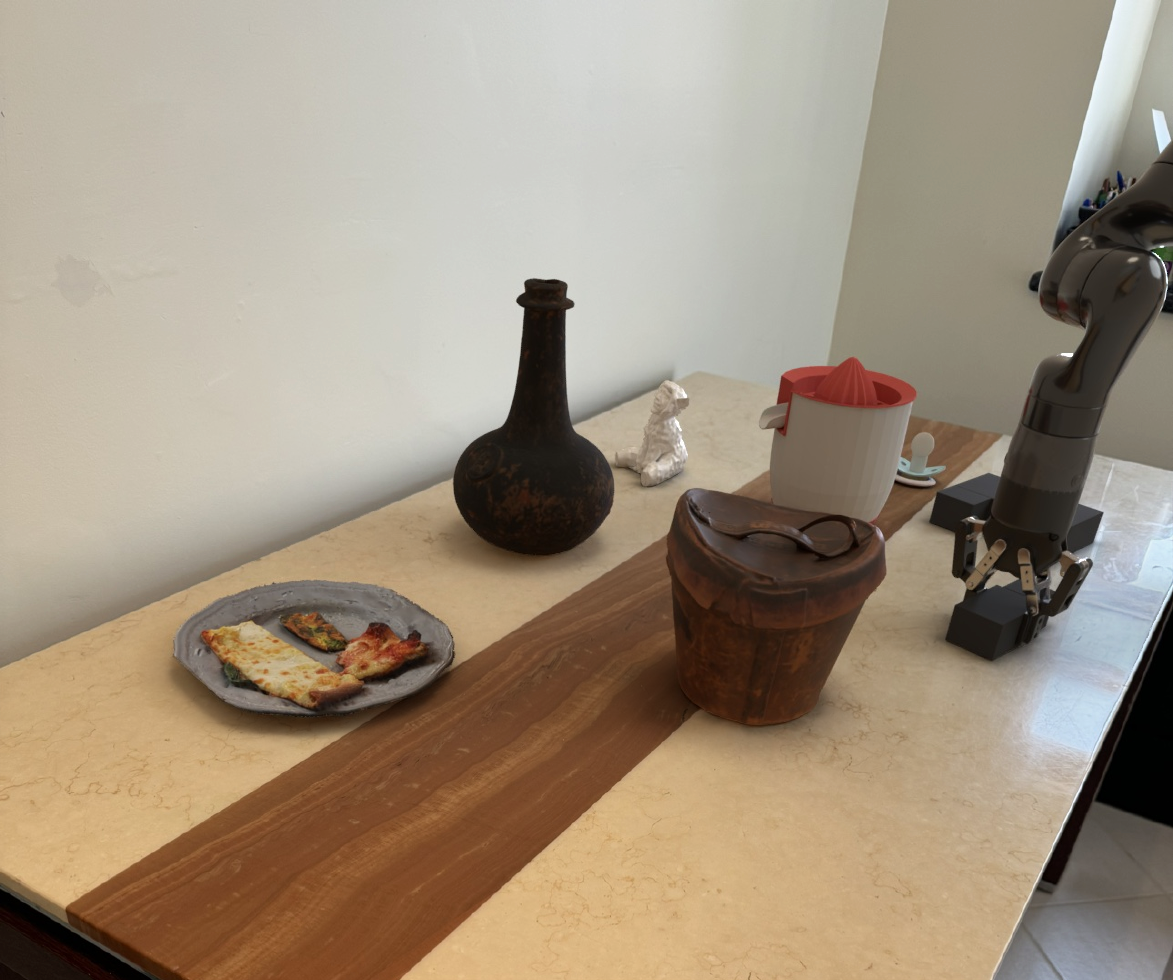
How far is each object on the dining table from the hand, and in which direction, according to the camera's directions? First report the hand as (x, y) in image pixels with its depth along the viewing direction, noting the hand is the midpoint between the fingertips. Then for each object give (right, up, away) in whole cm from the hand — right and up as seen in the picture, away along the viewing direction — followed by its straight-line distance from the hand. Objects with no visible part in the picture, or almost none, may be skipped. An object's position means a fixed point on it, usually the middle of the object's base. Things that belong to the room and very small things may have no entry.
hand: (995, 631), depth 114 cm
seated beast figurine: (-33, +26, +34) cm, 54 cm away
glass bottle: (-49, +12, +14) cm, 52 cm away
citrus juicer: (-14, +16, +22) cm, 31 cm away
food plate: (-67, -4, -12) cm, 68 cm away
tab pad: (+1, 0, +1) cm, 1 cm away
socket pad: (+11, +16, +24) cm, 30 cm away
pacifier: (+2, +26, +37) cm, 45 cm away
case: (-27, -7, -11) cm, 30 cm away
